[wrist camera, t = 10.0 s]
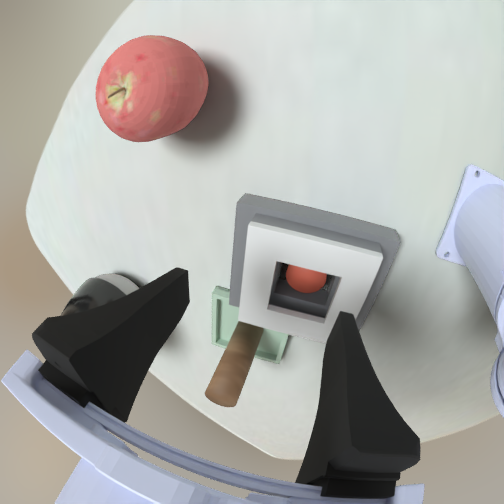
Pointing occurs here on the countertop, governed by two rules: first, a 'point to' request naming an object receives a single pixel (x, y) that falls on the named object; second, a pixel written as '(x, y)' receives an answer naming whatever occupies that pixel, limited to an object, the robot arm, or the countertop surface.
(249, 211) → the box
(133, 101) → the apple
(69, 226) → the countertop surface
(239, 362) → the brown wooden cylinder
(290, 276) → the button
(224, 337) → the rest tray
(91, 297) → the pump dispenser
